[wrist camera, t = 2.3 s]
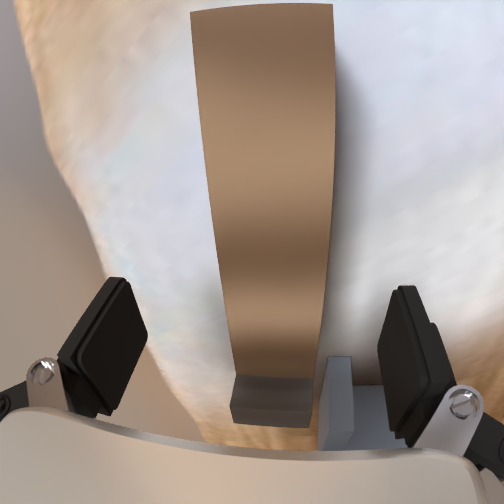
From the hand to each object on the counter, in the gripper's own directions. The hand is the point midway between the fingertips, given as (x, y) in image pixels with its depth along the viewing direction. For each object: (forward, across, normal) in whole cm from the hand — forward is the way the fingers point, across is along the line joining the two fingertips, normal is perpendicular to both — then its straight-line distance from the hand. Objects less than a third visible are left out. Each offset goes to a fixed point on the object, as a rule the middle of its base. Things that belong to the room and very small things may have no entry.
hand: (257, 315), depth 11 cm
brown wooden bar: (+7, 0, -2) cm, 7 cm away
